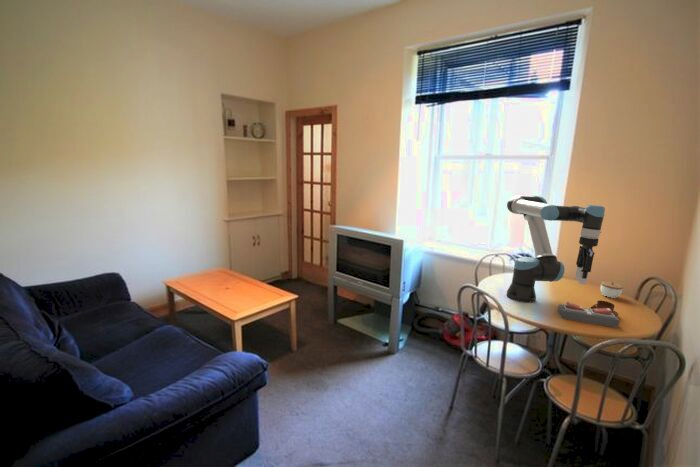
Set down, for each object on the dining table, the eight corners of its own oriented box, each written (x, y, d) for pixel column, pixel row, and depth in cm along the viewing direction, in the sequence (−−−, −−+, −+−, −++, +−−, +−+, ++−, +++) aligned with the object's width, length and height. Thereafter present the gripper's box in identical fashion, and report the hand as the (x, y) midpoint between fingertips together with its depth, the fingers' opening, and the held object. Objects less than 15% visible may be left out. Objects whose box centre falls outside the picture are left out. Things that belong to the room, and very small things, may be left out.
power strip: (561, 318, 172) (563, 309, 171) (557, 311, 180) (559, 302, 179) (617, 327, 165) (620, 318, 164) (610, 320, 173) (612, 311, 172)
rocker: (568, 306, 173) (569, 303, 172) (566, 303, 176) (567, 301, 176) (582, 311, 171) (584, 309, 171) (580, 308, 174) (581, 306, 174)
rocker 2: (595, 313, 169) (595, 311, 169) (592, 310, 173) (592, 308, 172) (612, 313, 167) (612, 310, 167) (609, 310, 170) (609, 307, 170)
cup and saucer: (606, 320, 173) (608, 308, 172) (584, 310, 184) (586, 299, 183) (623, 318, 177) (626, 307, 175) (600, 308, 188) (603, 298, 187)
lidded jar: (617, 301, 200) (621, 286, 198) (596, 295, 208) (599, 280, 206) (622, 297, 206) (626, 283, 204) (601, 291, 214) (604, 277, 212)
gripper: (606, 242, 156) (595, 289, 161) (591, 234, 173) (582, 277, 178) (587, 240, 158) (577, 286, 163) (574, 232, 176) (566, 275, 181)
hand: (580, 281), depth 171 cm, fingers open, 6 cm apart
